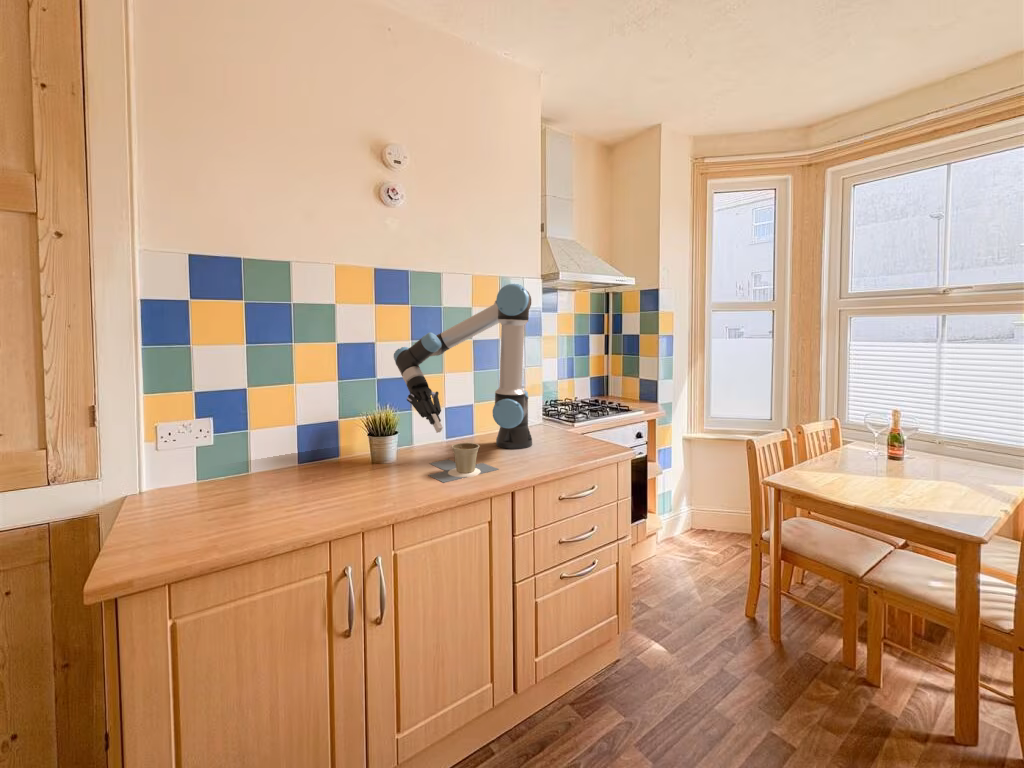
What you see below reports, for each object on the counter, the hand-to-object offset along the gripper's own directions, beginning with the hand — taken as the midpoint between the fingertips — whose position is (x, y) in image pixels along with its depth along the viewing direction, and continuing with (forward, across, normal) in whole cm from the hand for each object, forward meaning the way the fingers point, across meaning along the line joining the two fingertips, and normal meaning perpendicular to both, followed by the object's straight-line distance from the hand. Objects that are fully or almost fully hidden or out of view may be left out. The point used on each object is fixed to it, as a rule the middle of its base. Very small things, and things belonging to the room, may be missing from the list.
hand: (439, 430), depth 167 cm
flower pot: (+19, -1, +2) cm, 19 cm away
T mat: (+16, 0, -2) cm, 16 cm away
